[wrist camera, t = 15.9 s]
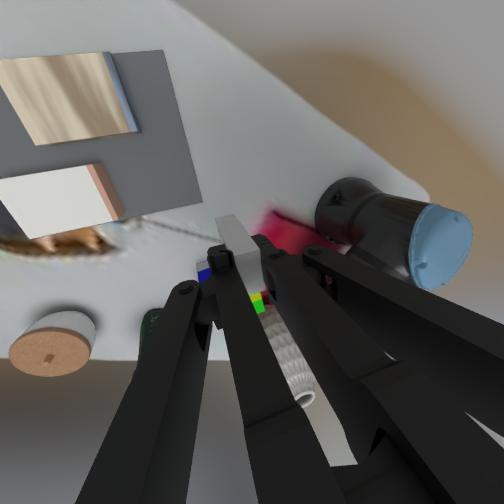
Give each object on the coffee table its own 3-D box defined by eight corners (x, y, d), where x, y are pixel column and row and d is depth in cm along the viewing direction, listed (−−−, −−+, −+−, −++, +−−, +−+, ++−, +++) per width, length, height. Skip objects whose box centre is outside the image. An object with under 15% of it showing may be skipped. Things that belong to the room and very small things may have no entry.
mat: (163, 51, 28) (162, 49, 28) (202, 201, 38) (202, 202, 38) (-73, 68, 23) (-77, 67, 23) (43, 235, 34) (42, 236, 33)
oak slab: (109, 51, 24) (-15, 60, 22) (137, 131, 28) (35, 145, 26) (118, 63, 27) (12, 72, 25) (142, 132, 31) (52, 145, 29)
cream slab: (92, 164, 28) (-14, 181, 26) (118, 219, 32) (29, 239, 30) (102, 162, 31) (9, 177, 29) (125, 212, 35) (45, 229, 33)
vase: (220, 321, 53) (241, 420, 34) (267, 279, 51) (317, 358, 32) (258, 344, 61) (293, 434, 42) (300, 309, 59) (355, 385, 40)
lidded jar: (40, 296, 38) (1, 337, 30) (108, 305, 42) (90, 342, 34) (34, 339, 41) (-2, 386, 33) (98, 343, 45) (80, 385, 37)
